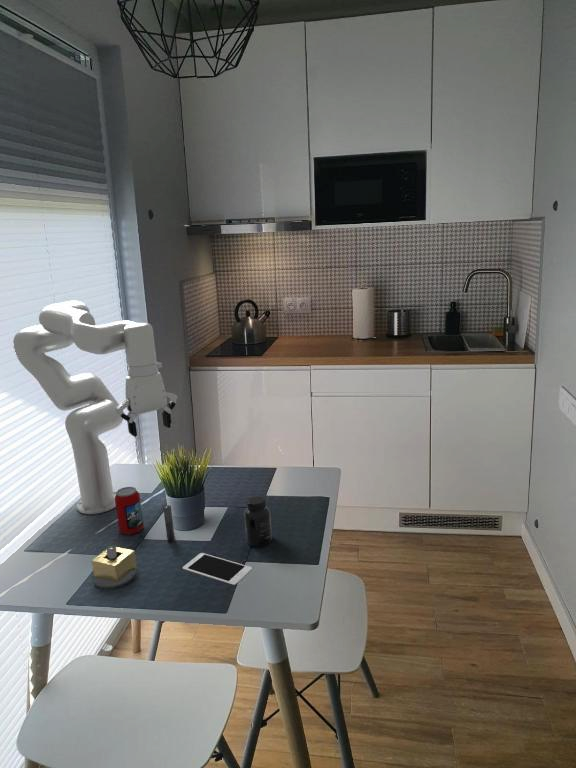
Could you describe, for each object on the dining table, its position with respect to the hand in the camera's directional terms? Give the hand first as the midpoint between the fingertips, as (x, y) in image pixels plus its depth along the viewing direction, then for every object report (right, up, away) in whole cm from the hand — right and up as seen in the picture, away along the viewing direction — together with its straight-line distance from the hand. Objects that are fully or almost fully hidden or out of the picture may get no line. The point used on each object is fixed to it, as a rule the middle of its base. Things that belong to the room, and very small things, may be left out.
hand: (150, 430), depth 161 cm
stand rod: (+6, -29, -2) cm, 30 cm away
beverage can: (-7, -28, +6) cm, 30 cm away
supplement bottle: (+30, -29, -4) cm, 42 cm away
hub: (-5, -34, -17) cm, 39 cm away
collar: (-5, -33, -17) cm, 37 cm away
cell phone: (+20, -33, -16) cm, 42 cm away
